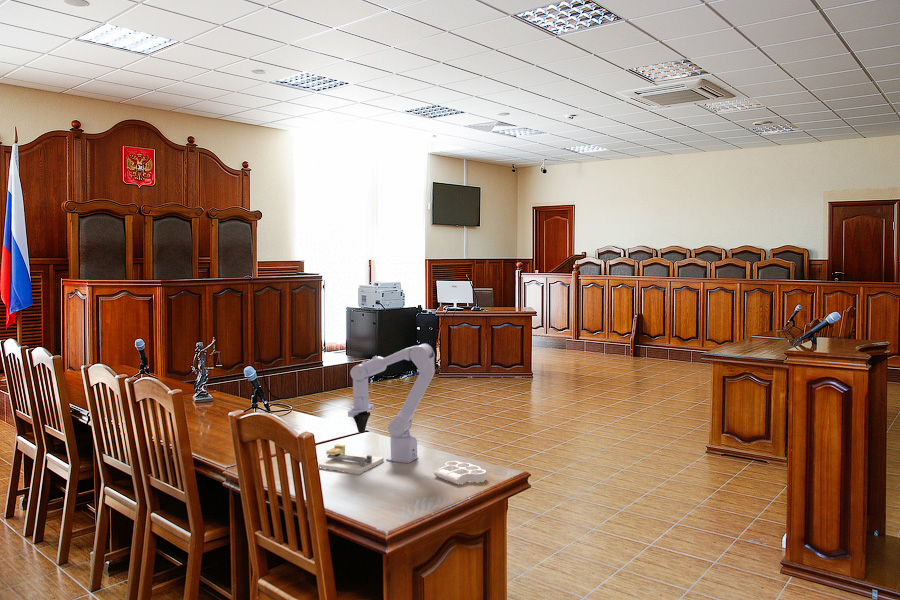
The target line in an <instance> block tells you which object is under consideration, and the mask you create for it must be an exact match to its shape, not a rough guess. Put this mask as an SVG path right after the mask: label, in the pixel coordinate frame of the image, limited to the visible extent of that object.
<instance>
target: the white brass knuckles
mask: <svg viewBox="0 0 900 600" xmlns="http://www.w3.org/2000/svg"><path fill="white" fill-rule="evenodd" d="M433 474H434V477H436V478H438V477H439V478H440V479H442V480H444V481H447V482H450V483H453V484H455V485H458V486H460V485H459V484H462V483H464V484H466V483H465V482H469V481H471V482H482V481H485V480H486V481H487V470H486V469H482V468H481V467H480V466H479V465H475V464H472V463H470V462H461V461H457V460H450V461H446V462H445V463H444V466H442V467H440V468H437V469H436V470H435V471H434V472H433ZM486 481H485V482H486ZM471 482H470V483H471ZM462 485H463V484H462Z"/></svg>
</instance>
